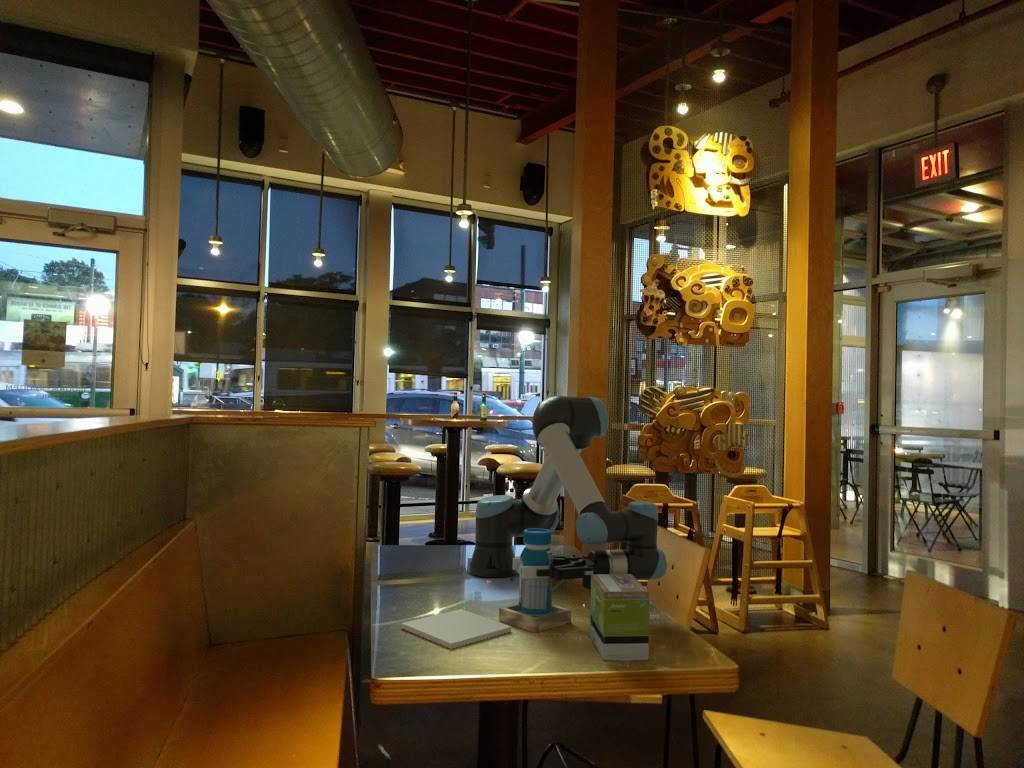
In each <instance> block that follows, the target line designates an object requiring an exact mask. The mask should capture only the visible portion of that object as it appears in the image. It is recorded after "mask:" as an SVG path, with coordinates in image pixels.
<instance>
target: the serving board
mask: <svg viewBox="0 0 1024 768" xmlns="http://www.w3.org/2000/svg"><path fill="white" fill-rule="evenodd" d="M401 629H402V630H404V629H405V630H404V631H406V630H407V632H409V633H411V632H412V633H411V634H414V635H416V636H418V635H419V637H421V638H423V637H424V638H423V639H425V638H426V640H428V641H430V640H431V641H430V642H433V643H435V642H436V644H437V643H438V644H437V645H440V644H441V645H440V646H442V645H443V646H442V647H444V648H447V647H448V648H447V649H449V648H450V650H453V649H456V647H457V648H460V647H463V645H464V646H466V644H467V645H470V643H471V644H475V643H477V641H478V642H480V640H481V641H485V640H487V638H488V639H491V638H490V637H492V638H494V636H495V637H499V636H501V634H502V635H505V634H504V633H506V634H509V633H511V632H512V626H510V625H509V624H506V623H503V622H499V621H496V620H493V619H492V618H491V619H490V618H488V617H485V616H482V615H479V614H478V613H477V614H476V613H474V612H471V611H467V610H465V609H462V608H460V609H455V610H452V611H447V612H443V613H440V614H439V613H438V614H436V615H432V616H425V617H422V618H419V619H418V618H417V619H414V620H410V621H405V622H402V623H401ZM508 632H509V633H508ZM498 635H499V636H498ZM484 639H485V640H484ZM452 648H453V649H452Z"/></svg>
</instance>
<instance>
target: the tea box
mask: <svg viewBox="0 0 1024 768" xmlns="http://www.w3.org/2000/svg"><path fill="white" fill-rule="evenodd" d="M589 615H590V617H589V618H590V630H589V632H590V633H589V635H590V638H591V640H592V641H593V644H594V646H595V648H596V649H597V650H596V651H598V653H599V655H600V657H601V659H602V660H603V661H604V660H615V661H616V660H618V661H616V662H620V661H621V662H622V661H623V662H627V661H629V662H630V661H633V660H634V662H635V660H636V661H648V660H649V652H650V646H649V645H650V644H649V642H650V639H649V638H650V637H649V636H650V591H649V590H648V589H647V588H646V587H645V586H644V585H643V584H642V583H641V582H640V580H637V579H636V578H635V577H634V576H633V575H632V574H591V588H590V614H589ZM615 661H614V662H615Z"/></svg>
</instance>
